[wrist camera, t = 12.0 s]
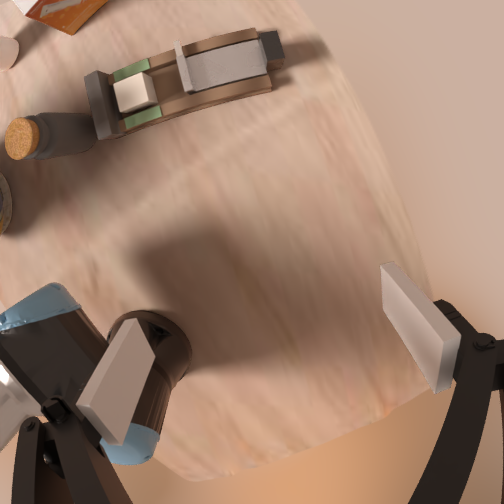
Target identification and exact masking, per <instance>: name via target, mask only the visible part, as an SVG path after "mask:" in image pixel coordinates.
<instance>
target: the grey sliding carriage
mask: <svg viewBox="0 0 504 504" xmlns="http://www.w3.org/2000/svg"><path fill="white" fill-rule="evenodd" d="M173 44H174V48H175V52H176V56H177V57H176V60H177V64H178V68H179V72H180V76H181V80H182V83H183V87H184V91H185V92H186V93H188V94H189V95H193V94H196V93H200V92H203V91H206V90H210V89H213V88H217V87H221V86H224V85H228V84H232V83H236V82H240V81H244V80H249V79H253V78H257V77H262V76H267V71H270V70H275V69H280V68H281V67H282V64H283V62H284V59H285V56H284V53H283V49H282V46H281V43H280V39H279V36H278V33H277V30H276V31H271V32H265V33H260V34H259V43H258V40H253V41H248V42H244V43H239V44H235V45H231V46H227V47H223V48H219V49H215V50H212V51H208V52H205V53H201V54H198V55H195V56H191V57H188V58H186V56H185V55H184V53H183V49H182V45H181V41H180V40H176V41H173Z"/></svg>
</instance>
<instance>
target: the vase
mask: <svg viewBox="0 0 504 504" xmlns="http://www.w3.org/2000/svg"><path fill="white" fill-rule="evenodd" d="M11 216H12V198H11V192H10V189H9V185H8V183H7V180H6V179H5V177H4V176H3V174H2V173H1V172H0V235H1V234H2V233H3V232H4V231H5V230H6V228H7V227H8V225H9V223H10V220H11Z"/></svg>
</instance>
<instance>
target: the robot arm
mask: <svg viewBox="0 0 504 504" xmlns="http://www.w3.org/2000/svg"><path fill="white" fill-rule="evenodd" d="M380 270H381V284H382V301H383V311H384V312H385V314H386V316H387V317H388V319H389V320H390V322H391V323H392V325H393V326H394V328H395V329H396V331H397V333H398V334H399V336H400V337H401V339H402V341H403V342H404V344H405V345H406V347H407V349H408V350H409V352H410V354H411V355H412V357H413V358H414V360H415V362H416V363H417V365H418V367H419V368H420V370H421V372H422V373H423V375H424V377H425V379H426V380H427V382H428V384H429V385H430V387H431V389H432V391H433V392H434V394H437V393H439V392H441V391H444V390H446V389H449V388H451V384H452V379H453V378H454V380H455V381H456V383H457V384H456V387H455V391H454V394H453V397H452V400H451V403H450V407H449V409H448V412H447V416H446V418H445V421H444V424H443V427H442V429H441V432H440V435H439V437H438V440H437V442H436V445H435V447H434V450H433V452H432V455H431V457H430V459H429V462H428V464H427V466H426V468H425V470H424V473H423V475H422V477H421V479H420V481H419V483H418V485H417V487H416V489H415V491H414V493H413V495H412V497H411V499H410V501H409V503H408V504H459V501H460V499H461V496H462V494H463V491H464V489H465V486H466V483H467V481H468V478H469V475H470V472H471V469H472V466H473V463H474V460H475V457H476V453H477V450H478V447H479V443H480V440H481V436H482V432H483V428H484V424H485V420H486V416H487V411H488V406H489V402H490V397H491V391H495V390H499V392H500V401H501V413H502V426H503V427H502V428H503V485H502V499H501V504H504V340H496V339H495V338H494V337H493V336H491V335H490V334H486V333H478V332H477V331H476V330H475V329H474V328H473V327H472V325H471V324H470V323H469V322H468V321H467V320H466V319H465V318H464V317H463V316H462V315H461V314H460V313H459V312H458V311H457V310H456V309H455V308H454V306H453V305H451V304H450V303H448V302H446V301H444V300H442V299H441V300H438V301H435V302H432V301H431V300H430V299H429V298H428V297H427V296H426V295H425V294H424V293H423V292H422V290H421V289H420V288H419V287H418V286H417V285H416V284H415V283H414V282H413V281H412V280H411V279H410V278H409V277H408V276H407V275H406V274H405V273H404V272H403V270H402V269H401V268H400V267H399V266H398V265H397V264H396V263H395V262H394V261H393V262H389V263H385V264H381V265H380ZM191 356H192V352H191V346H190V343H189V341H188V339H187V337H186V336H185V334H184V333H183V332H182V330H181V329H180V328H179V327H178V326H177V325H175V324H174V323H173V322H171V321H170V320H168V319H167V318H165V317H163V316H160V315H158V314H155V313H151V312H146V311H134V312H129V313H126V314H124V315H122V316H121V317H119V318H118V319H117V320H116V321H115V323H114V324H113V326H112V327H111V329H110V331H109V333H108V336H107V341H106V340H105V338H104V337H103V336H102V335H101V333H100V332H99V331H98V330H97V328H96V327H95V326H94V325H93V323H92V322H91V321H90V319H89V318H88V317H87V315H86V314H85V313H84V311H83V310H82V308H81V305H80V304H78V303H77V302H76V301H75V299H74V298H73V297H72V296H71V294H70V293H69V292H68V291H67V289H66V288H65V287H64V286H63V285H61V284H60V283H56V282H53V283H49V284H47V285H45V286H44V287H42V288H40V289H39V290H37V291H36V292H34V293H32V294H31V295H29V296H28V297H26V298H24V299H23V300H21V301H20V302H18V303H17V304H15V305H14V306H12V307H11V308H9V309H8V310H6V311H5V312H3V313H2V314H0V452H1V451H2V450H3V449H4V448H5V446H6V445H7V444H8V443H9V442H10V441H11V439H12V438H13V437H14V436H15V435H16V434H17V432H18V431H19V436H18V442H17V449H16V457H15V464H14V473H13V484H12V500H11V504H133V503H132V501H131V500H130V498H129V496H128V494H127V493H126V491H125V489H124V487H123V485H122V483H121V482H120V480H119V478H118V476H117V474H116V472H115V470H114V468H113V466H112V464H111V463H115V464H121V465H137V464H142V463H144V462H146V461H148V460H149V459H150V458H151V457H152V455H153V453H154V451H155V448H156V445H157V442H158V441H159V440H160V434H161V430H162V426H163V422H164V418H165V414H166V410H167V406H168V402H169V398H170V394H171V391H172V389H173V388H174V387H175V386H176V384H177V382H178V381H180V380H181V379H182V378H183V377H184V376H185V374H186V373H187V371H188V368H189V365H190V361H191ZM35 416H45V417H46V418H47V420H48V421H49V422H47V423H42V422H41V421H40V420H39V419H38V418H37V417H35ZM44 458H45V459H46V463H45V460H44Z"/></svg>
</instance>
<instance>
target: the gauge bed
mask: <svg viewBox="0 0 504 504" xmlns="http://www.w3.org/2000/svg"><path fill="white" fill-rule="evenodd" d="M253 40H258V36H257V33H256V29H255V28H250V29H245V30H241V31H236V32H232V33H228V34H224V35H220V36H216V37H213V38H209V39H205V40H202V41H198V42H195V43H192V44H189V45H185V46H182V49H183V53H184V55H185V56H186V58H188V57H191V56H195V55H198V54H201V53H205V52H208V51H212V50H215V49H219V48H223V47H227V46H231V45H235V44H239V43H244V42H248V41H253ZM176 57H177V56H176V52H175V49H173V50H170V51H167V52H164V53H162V54H159V55H156V56H153V57H151V58H147V59H144V60H142V61H139V62H137V63H134V64H132V65H129V66H127V67H125V68H122V69H120V70H118V71H116V72H113V73H112V74H110V75H109V74H106V73H103V72H100V71H95V72H93V73H91V74H89V75H87V76H85V77H84V80H85V85H86V90H87V94H88V99H89V103H90V108H91V112H92V116H93V120H94V124H95V128H96V132H97V136H98V140H104V139H117V138H120V137H122V136H125V135H127V134H130V133H133V132H135V131H138V130H141V129H143V128H146V127H149V126H152V125H154V124H157V123H160V122H163V121H166V120H169V119H172V118H175V117H178V116H181V115H184V114H187V113H191V112H194V111H197V110H201V109H204V108H207V107H211V106H215V105H218V104H222V103H226V102H229V101H233V100H237V99H241V98H245V97H250V96H254V95H258V94H263V93H267V92H271V91H272V90H271V87H272V85H271V81H270V77H269V75H267V76H262V77H257V78H253V79H249V80H244V81H240V82H236V83H232V84H228V85H224V86H221V87H217V88H213V89H210V90H206V91H203V92H200V93H196V94H193V95H189V94H188V93H186V92H185V91H184V87H183V83H182V80H181V76H180V72H179V68H178V64H177V60H176ZM141 72H143V73H144V74H146V75H148V76H150V77H152V81H153V85H154V89H155V93H156V97H157V101H158V104H156V105H153V106H150V107H147V108H145V109H142V110H139V111H137V112H134V113H132V114H131V113H123V112H120V111H119V107H118V102H117V98H116V94H115V90H114V85H113V84H114V83H117V82H119V81H121V80H124V79H126V78H128V77H131V76H133V75H136V74H138V73H141Z"/></svg>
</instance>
